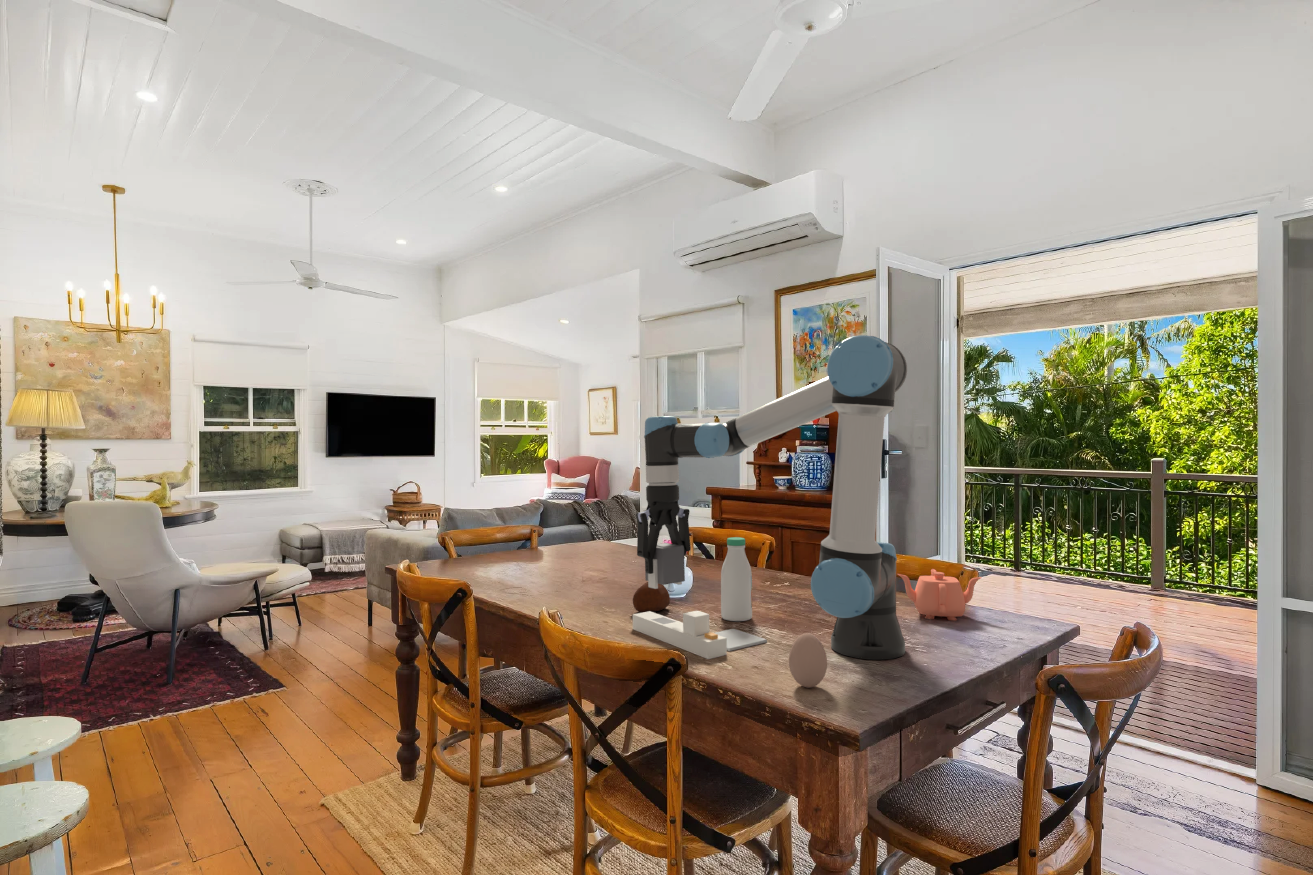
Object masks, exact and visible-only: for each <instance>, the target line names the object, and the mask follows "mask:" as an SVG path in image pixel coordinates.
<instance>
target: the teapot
mask: <svg viewBox="0 0 1313 875" xmlns="http://www.w3.org/2000/svg"><path fill="white" fill-rule="evenodd" d="M930 572H931V574H930V575H919V577H918V579H917V583H916V586H915V589H913V588H912V585H911V584H912V583H911V580H910V578H909V577H908V576H907V575H905V574H901V573H897V575H898V576H899V577H900V578H902V580H903V583H904V586H905V587H904V588H905V592H906V595H907V597H908V599H910V600H911V601H912V602H913V604H914V607H915V608H916V611H917V613H919V614H921V615H923V616H925V617H924V619H926V620H934V619H935V617H946V618H947V620H948V621H952V622H953V621H957V617H962V616H964V614H965V611H966V605H967V604H969V603H970V601H971V600H972V598H973V596H974V590H975V585H976V583H977V582H978V581H979V580H980V579H982V578H983V577H982V576H977V577H973V578H971V579H970V580H969V581H968V585H967V588H966V590H965V591H963V588H962V586H961V583H960V581H959V580H958V579H957V578H956V577H953V576H945V573H944V572H941V571H937V570H936V569H934V568H932V569H931V570H930Z"/></svg>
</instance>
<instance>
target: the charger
mask: <svg viewBox="0 0 1313 875" xmlns="http://www.w3.org/2000/svg"><path fill="white" fill-rule="evenodd" d="M654 559H657V572H658V584H662V585H664V586H665V585H670V584H674V583H677V582H682V583H683V582H685V581H686V580H685V579H686V577H685V576H686V575H685V574H686V573H685V556H684V546H682V545H676V544H672V543H670V542H660V543H657V547H656V551H655V556H654ZM644 573H645V574H644V575H645V578H644V579H645V581H646V582H648V573H646V571H645V572H644Z"/></svg>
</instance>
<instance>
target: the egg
mask: <svg viewBox="0 0 1313 875" xmlns="http://www.w3.org/2000/svg"><path fill="white" fill-rule="evenodd" d="M788 655H789V656H788V667H789V671H790V674H791V676H792V677H793V679H794V680H795V682H796V683H798V684H799V685H800V686H801V687H804V688H806V689H807V688H815V687H817V686H818V685H819V684H820V683H821V682H822V681H823V680H824V678H825V676H826V674H827V669H828V659H827V653H826V650H825V648H824V646H823V644H822V641H821V640H820V639H819V638H818V637H817V636H816V635H814V634H813V633H811V632H805V633H802V634H800V635H799V636H797V637H796V638H795V640H794V641H793V644H792V646H791V648H790V651H789V654H788Z"/></svg>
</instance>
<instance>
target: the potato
mask: <svg viewBox="0 0 1313 875" xmlns="http://www.w3.org/2000/svg"><path fill="white" fill-rule="evenodd" d="M670 602H671V597H670V594H669V590H668V589H667V588H666V586H665V585H662V584H658V588H657V589H654V588H650V587H648V581H646V582H645V583H644V584H642V585H641V586H639V587H638V588H637V589H636V590H635V592H634V593H633V596H632V606H633V608H634V609H635V611H637V612H638V613H643V612H649V611H651V612H654V613H656V612H658V611H663V610H664V609H666V608H668V607H669V606H670Z"/></svg>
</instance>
